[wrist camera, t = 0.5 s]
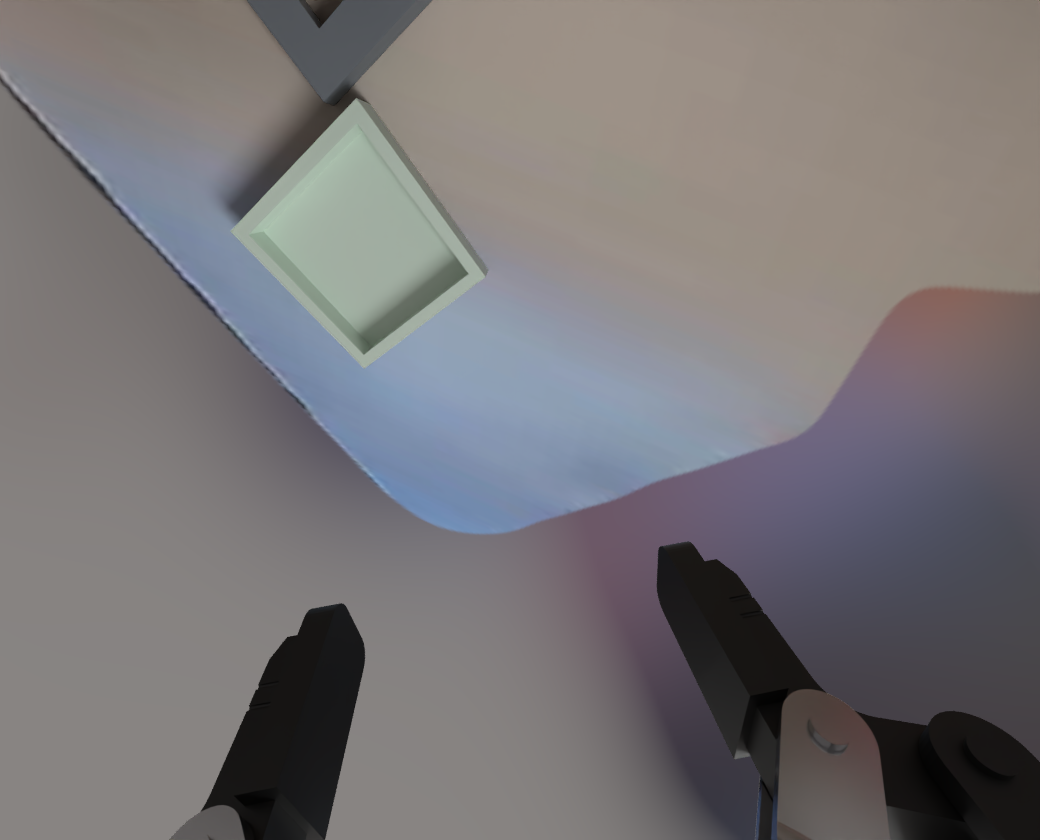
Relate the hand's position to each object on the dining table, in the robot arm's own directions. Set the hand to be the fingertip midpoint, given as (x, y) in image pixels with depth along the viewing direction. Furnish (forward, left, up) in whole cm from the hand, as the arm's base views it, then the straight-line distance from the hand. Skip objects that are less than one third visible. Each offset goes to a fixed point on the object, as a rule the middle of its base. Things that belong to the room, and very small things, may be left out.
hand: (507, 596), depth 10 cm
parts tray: (-10, -6, -24) cm, 26 cm away
